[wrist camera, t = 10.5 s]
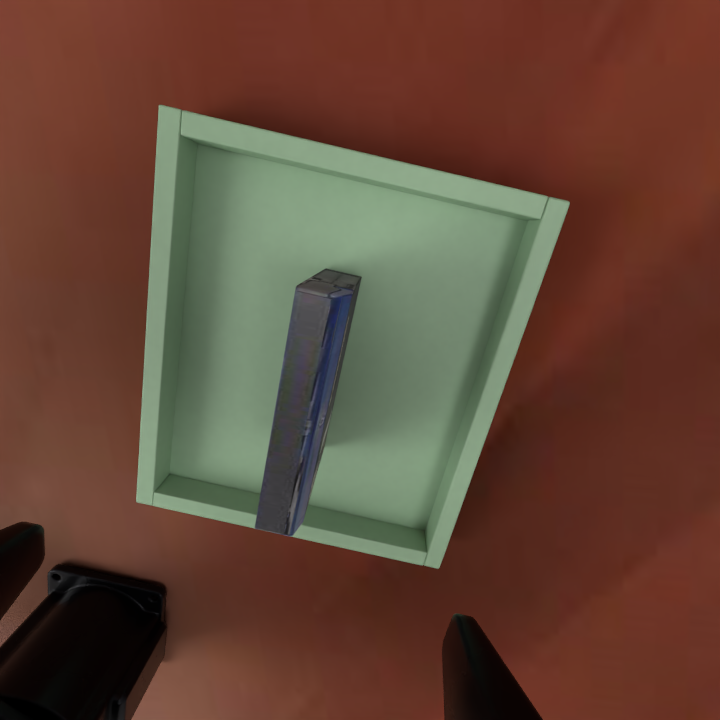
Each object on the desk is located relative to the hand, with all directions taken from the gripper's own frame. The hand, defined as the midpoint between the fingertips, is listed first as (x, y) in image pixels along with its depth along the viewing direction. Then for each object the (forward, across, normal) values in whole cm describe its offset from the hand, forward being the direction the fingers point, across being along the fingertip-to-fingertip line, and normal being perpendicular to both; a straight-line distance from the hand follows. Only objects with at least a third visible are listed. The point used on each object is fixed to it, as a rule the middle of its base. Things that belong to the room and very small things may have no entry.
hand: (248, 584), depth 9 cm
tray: (+11, 0, -2) cm, 11 cm away
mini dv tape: (+10, 0, -2) cm, 10 cm away
